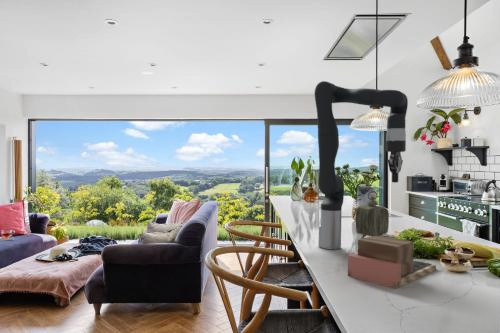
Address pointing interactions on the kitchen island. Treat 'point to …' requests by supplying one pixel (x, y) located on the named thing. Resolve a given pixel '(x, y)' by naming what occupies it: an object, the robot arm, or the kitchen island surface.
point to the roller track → (385, 270)
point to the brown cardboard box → (388, 251)
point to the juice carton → (365, 194)
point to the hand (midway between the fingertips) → (395, 182)
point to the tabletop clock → (372, 219)
